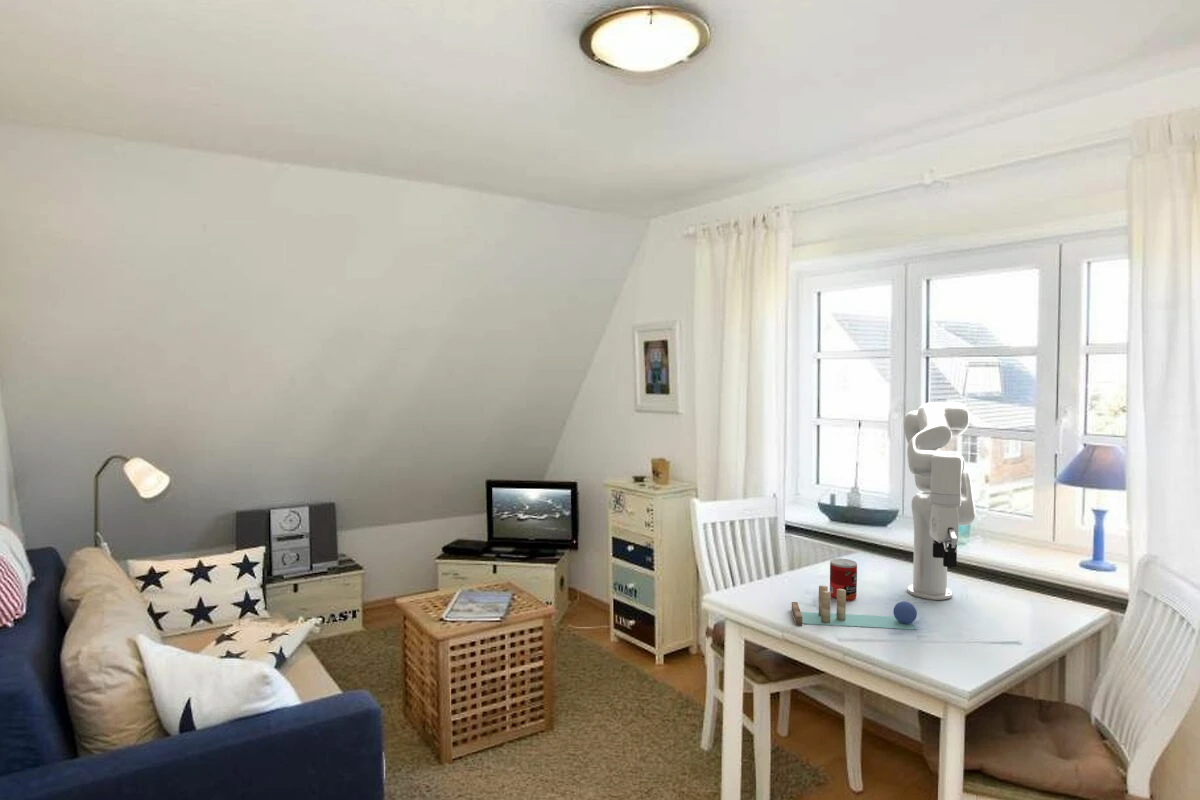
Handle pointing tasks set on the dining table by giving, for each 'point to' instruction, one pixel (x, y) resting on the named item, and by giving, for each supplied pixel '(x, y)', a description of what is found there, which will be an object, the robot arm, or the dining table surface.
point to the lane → (857, 621)
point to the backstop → (797, 613)
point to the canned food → (843, 578)
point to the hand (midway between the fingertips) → (944, 562)
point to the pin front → (841, 604)
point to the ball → (905, 612)
